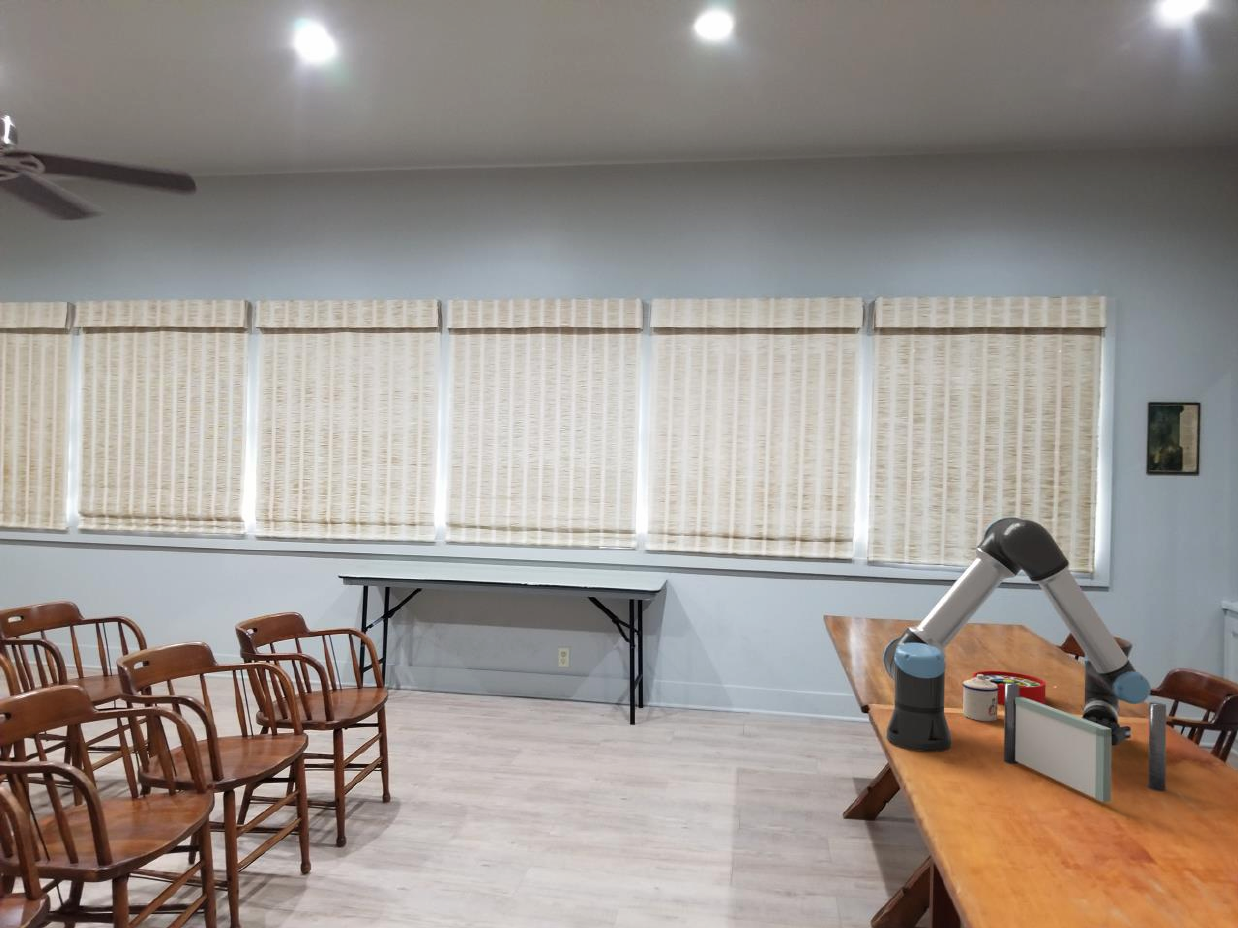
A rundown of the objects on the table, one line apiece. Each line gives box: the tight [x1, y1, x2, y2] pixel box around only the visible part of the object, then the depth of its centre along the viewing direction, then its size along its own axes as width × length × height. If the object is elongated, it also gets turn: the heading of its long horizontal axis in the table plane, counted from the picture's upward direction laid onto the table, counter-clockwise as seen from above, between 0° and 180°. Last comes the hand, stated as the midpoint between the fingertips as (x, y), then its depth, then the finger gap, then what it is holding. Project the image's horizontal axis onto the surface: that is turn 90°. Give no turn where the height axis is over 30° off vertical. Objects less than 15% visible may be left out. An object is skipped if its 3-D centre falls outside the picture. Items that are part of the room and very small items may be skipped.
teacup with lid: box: [962, 674, 999, 722], centre depth 223 cm, size 12×9×12 cm
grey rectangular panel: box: [1015, 697, 1112, 803], centre depth 173 cm, size 24×2×15 cm, turn 15°
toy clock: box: [972, 670, 1046, 706], centre depth 243 cm, size 20×6×20 cm
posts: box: [1003, 682, 1167, 792], centre depth 179 cm, size 31×3×18 cm, turn 59°
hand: (1096, 745), depth 177 cm, fingers closed
